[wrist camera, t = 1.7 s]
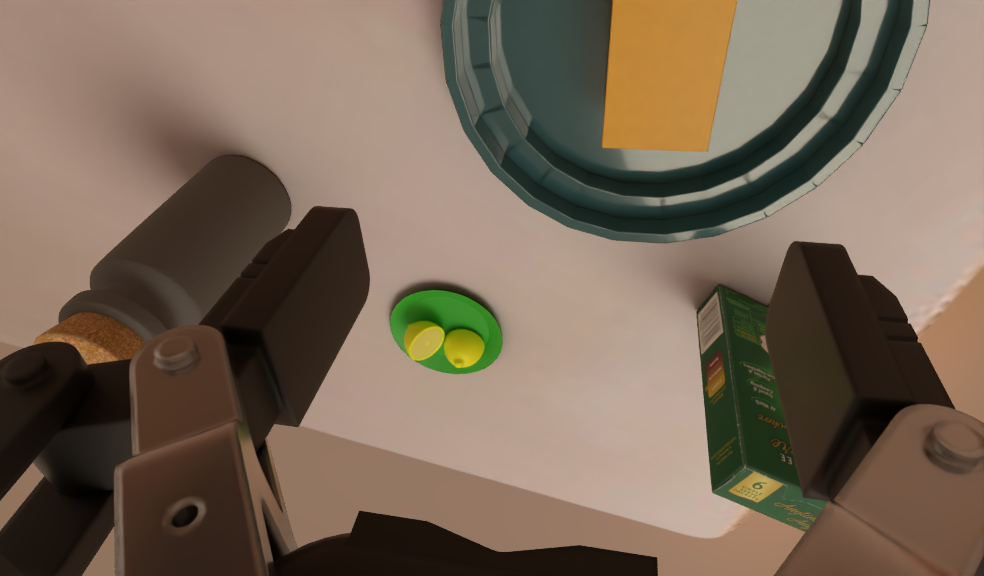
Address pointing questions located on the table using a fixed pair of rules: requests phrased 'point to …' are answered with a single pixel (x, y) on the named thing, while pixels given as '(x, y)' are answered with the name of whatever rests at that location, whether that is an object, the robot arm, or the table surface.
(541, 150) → the teal plate
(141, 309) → the bottle
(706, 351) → the coffee box
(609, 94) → the block
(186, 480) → the robot arm
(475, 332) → the lemons on green plate
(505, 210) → the table surface
